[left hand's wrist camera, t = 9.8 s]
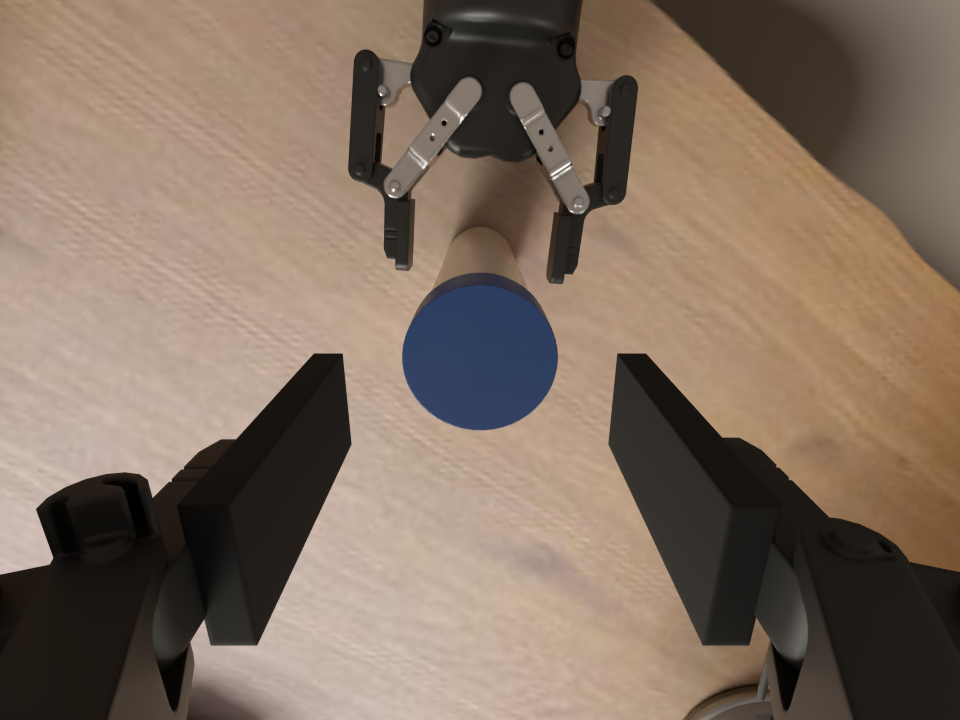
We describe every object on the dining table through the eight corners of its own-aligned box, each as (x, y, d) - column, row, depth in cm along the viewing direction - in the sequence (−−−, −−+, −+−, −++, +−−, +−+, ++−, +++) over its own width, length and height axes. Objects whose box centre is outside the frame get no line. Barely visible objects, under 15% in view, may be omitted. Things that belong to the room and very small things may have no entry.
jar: (471, 212, 34) (462, 260, 16) (526, 252, 35) (576, 341, 17) (433, 268, 36) (385, 372, 17) (487, 306, 36) (495, 441, 18)
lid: (462, 242, 17) (459, 251, 16) (578, 325, 18) (590, 343, 17) (383, 357, 19) (372, 378, 17) (495, 428, 20) (497, 456, 18)
